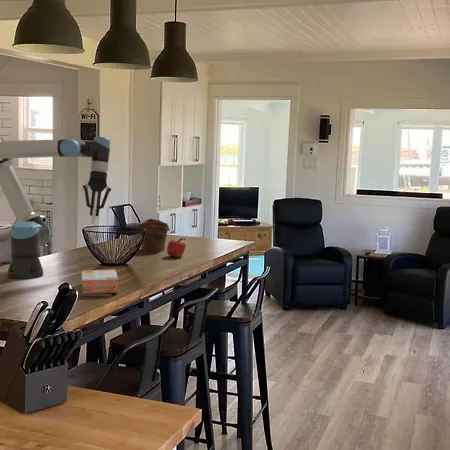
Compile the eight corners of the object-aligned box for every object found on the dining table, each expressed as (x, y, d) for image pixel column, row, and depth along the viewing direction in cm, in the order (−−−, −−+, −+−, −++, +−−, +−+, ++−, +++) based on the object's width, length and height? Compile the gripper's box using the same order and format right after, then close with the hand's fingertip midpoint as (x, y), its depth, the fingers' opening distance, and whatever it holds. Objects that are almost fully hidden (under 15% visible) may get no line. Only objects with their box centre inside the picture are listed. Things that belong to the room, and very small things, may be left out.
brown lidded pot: (151, 246, 369) (151, 215, 367) (176, 250, 357) (176, 219, 354) (128, 250, 356) (128, 218, 353) (153, 254, 343) (153, 221, 341)
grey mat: (69, 295, 242) (69, 294, 242) (78, 284, 262) (78, 283, 262) (111, 295, 243) (111, 294, 243) (116, 284, 263) (116, 283, 263)
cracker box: (81, 284, 262) (81, 294, 242) (81, 270, 262) (81, 279, 241) (115, 283, 265) (118, 293, 245) (115, 269, 265) (118, 278, 245)
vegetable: (181, 254, 342) (181, 236, 341) (190, 257, 334) (190, 238, 332) (163, 256, 336) (163, 237, 335) (172, 259, 328) (172, 240, 326)
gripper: (83, 168, 280) (77, 221, 279) (112, 172, 281) (107, 224, 280) (85, 170, 287) (79, 222, 286) (114, 173, 288) (108, 225, 288)
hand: (93, 223), depth 283 cm, fingers closed
